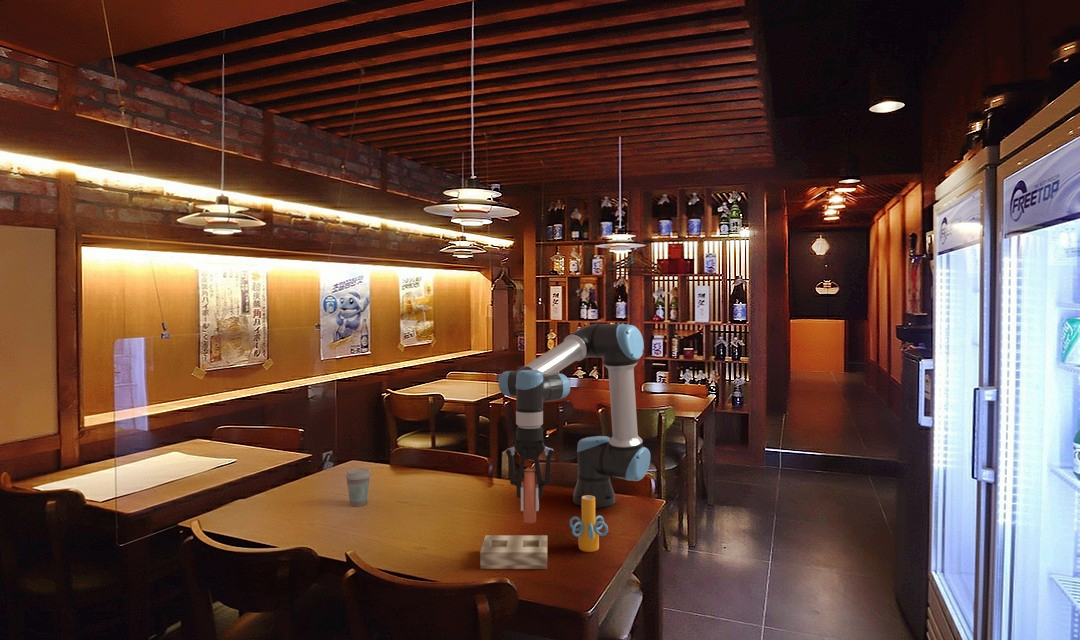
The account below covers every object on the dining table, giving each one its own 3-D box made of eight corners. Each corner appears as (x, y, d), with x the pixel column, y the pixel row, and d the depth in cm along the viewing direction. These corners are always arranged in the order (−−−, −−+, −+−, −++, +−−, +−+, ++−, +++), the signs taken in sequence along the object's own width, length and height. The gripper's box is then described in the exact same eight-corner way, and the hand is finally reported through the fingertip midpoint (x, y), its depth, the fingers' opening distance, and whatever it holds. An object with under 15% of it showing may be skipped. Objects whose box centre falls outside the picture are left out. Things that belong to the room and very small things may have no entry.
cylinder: (568, 540, 184) (567, 491, 183) (602, 539, 185) (601, 490, 184) (573, 557, 172) (573, 505, 171) (610, 556, 173) (609, 503, 172)
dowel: (536, 518, 172) (536, 469, 172) (535, 523, 168) (535, 472, 168) (523, 518, 172) (523, 469, 172) (523, 523, 168) (523, 472, 168)
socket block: (547, 550, 177) (547, 535, 176) (546, 568, 165) (546, 552, 164) (485, 550, 177) (485, 535, 177) (480, 568, 165) (480, 552, 165)
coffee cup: (341, 506, 217) (340, 473, 217) (356, 499, 225) (356, 467, 225) (360, 509, 214) (360, 475, 214) (375, 501, 222) (375, 469, 222)
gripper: (559, 423, 173) (559, 505, 174) (501, 423, 174) (501, 504, 174) (559, 428, 166) (559, 514, 166) (498, 428, 166) (499, 513, 167)
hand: (529, 509), depth 170 cm, fingers closed on dowel, 3 cm apart
